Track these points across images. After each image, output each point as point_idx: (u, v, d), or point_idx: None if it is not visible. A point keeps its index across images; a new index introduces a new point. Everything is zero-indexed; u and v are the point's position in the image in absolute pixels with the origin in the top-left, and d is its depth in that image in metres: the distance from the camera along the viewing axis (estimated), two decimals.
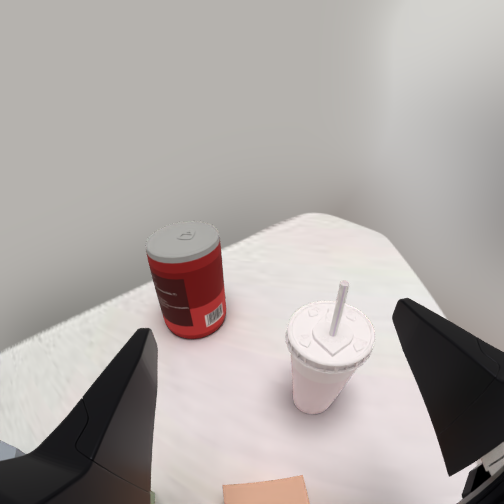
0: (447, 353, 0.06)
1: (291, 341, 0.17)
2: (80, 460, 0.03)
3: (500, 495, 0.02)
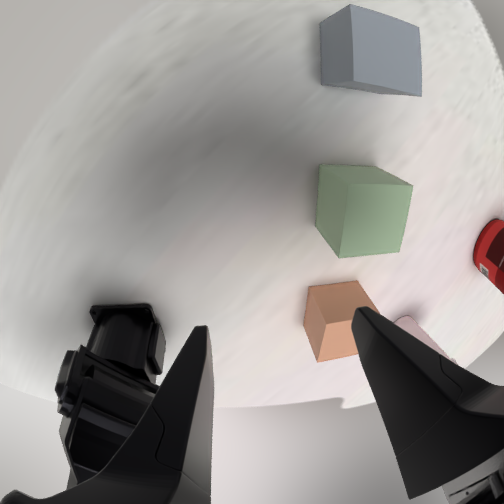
0: (402, 370, 0.06)
1: None
2: (166, 473, 0.04)
3: (500, 496, 0.02)
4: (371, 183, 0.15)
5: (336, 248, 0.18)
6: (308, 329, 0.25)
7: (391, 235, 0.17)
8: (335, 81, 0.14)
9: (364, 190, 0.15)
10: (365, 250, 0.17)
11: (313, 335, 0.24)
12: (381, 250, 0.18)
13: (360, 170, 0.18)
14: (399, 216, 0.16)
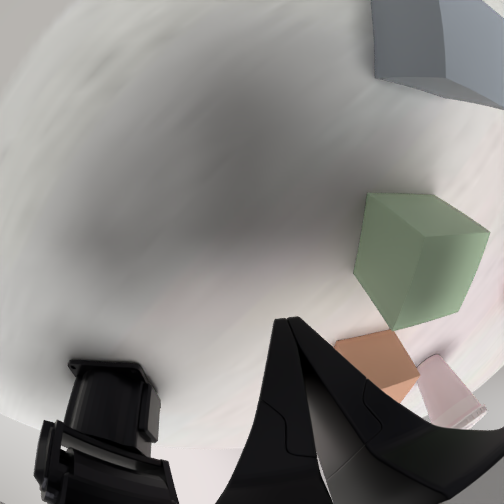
0: (320, 393, 0.06)
1: (476, 418, 0.14)
2: (304, 462, 0.04)
3: None
4: (449, 232, 0.09)
5: (388, 317, 0.12)
6: None
7: (455, 295, 0.11)
8: (404, 74, 0.08)
9: (441, 244, 0.09)
10: (424, 317, 0.11)
11: None
12: (441, 314, 0.12)
13: (421, 203, 0.12)
14: (468, 272, 0.10)
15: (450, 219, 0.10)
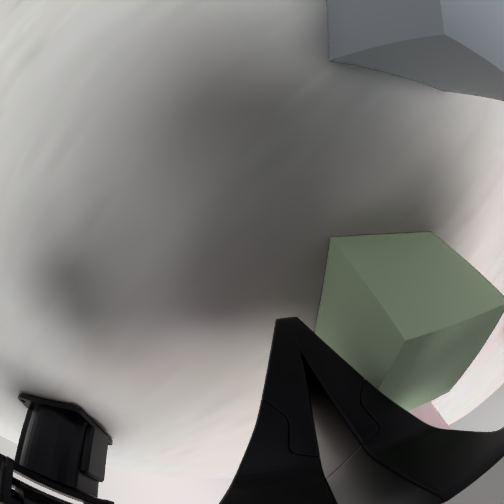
0: (317, 393, 0.06)
1: None
2: (307, 462, 0.04)
3: None
4: (449, 318, 0.06)
5: None
6: None
7: (447, 380, 0.07)
8: (369, 44, 0.04)
9: (432, 341, 0.05)
10: None
11: None
12: (424, 401, 0.08)
13: (413, 254, 0.08)
14: (470, 354, 0.07)
15: (453, 284, 0.07)
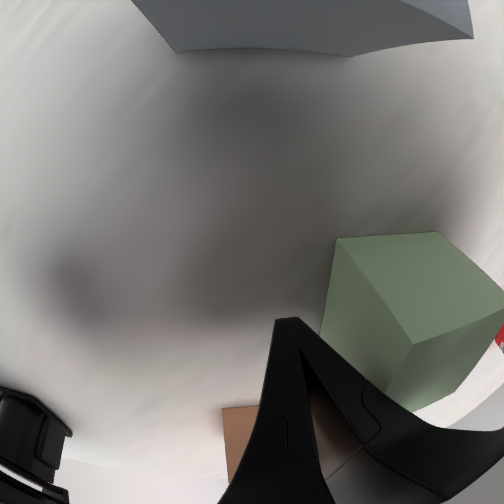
0: (319, 393, 0.06)
1: None
2: (306, 462, 0.04)
3: None
4: (456, 321, 0.05)
5: None
6: None
7: (453, 381, 0.07)
8: None
9: (440, 344, 0.05)
10: None
11: None
12: (429, 402, 0.08)
13: (419, 255, 0.08)
14: (475, 355, 0.07)
15: (460, 286, 0.07)
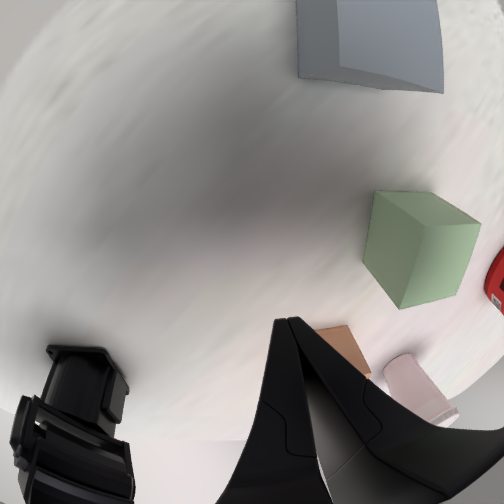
0: (320, 393, 0.06)
1: (444, 420, 0.16)
2: (304, 463, 0.04)
3: None
4: (445, 223, 0.11)
5: (395, 298, 0.14)
6: None
7: (452, 279, 0.13)
8: (315, 70, 0.09)
9: (438, 233, 0.11)
10: (426, 298, 0.13)
11: None
12: (440, 296, 0.13)
13: (421, 200, 0.14)
14: (463, 258, 0.12)
15: (446, 213, 0.12)
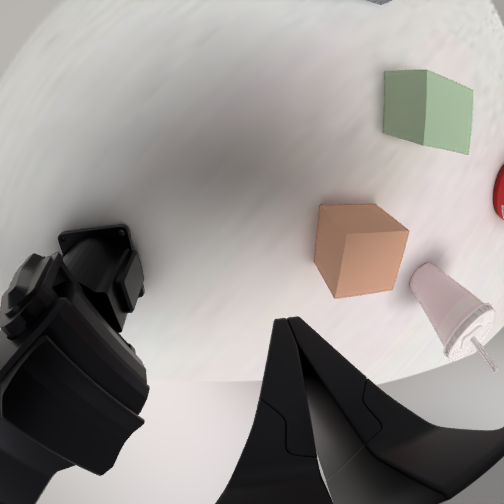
0: (320, 393, 0.06)
1: (485, 312, 0.16)
2: (304, 463, 0.04)
3: None
4: (442, 76, 0.11)
5: (418, 138, 0.14)
6: (320, 261, 0.21)
7: (462, 133, 0.13)
8: None
9: (439, 80, 0.11)
10: (443, 143, 0.13)
11: (327, 265, 0.20)
12: (455, 147, 0.14)
13: None
14: (466, 116, 0.12)
15: None
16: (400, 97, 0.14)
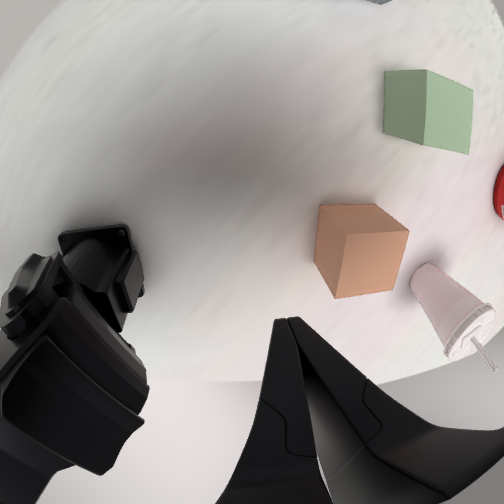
0: (320, 393, 0.06)
1: (485, 312, 0.16)
2: (304, 463, 0.04)
3: None
4: (442, 76, 0.11)
5: (418, 137, 0.14)
6: (320, 261, 0.21)
7: (462, 133, 0.13)
8: None
9: (439, 80, 0.11)
10: (443, 143, 0.13)
11: (327, 265, 0.20)
12: (455, 147, 0.14)
13: None
14: (466, 116, 0.12)
15: None
16: (400, 97, 0.14)
